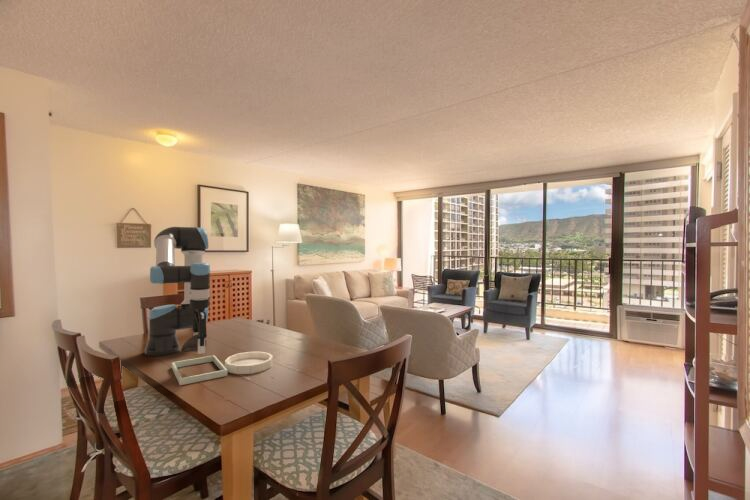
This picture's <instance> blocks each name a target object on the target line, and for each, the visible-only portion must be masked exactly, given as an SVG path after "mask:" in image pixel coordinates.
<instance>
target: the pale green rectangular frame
mask: <svg viewBox="0 0 750 500" xmlns="http://www.w3.org/2000/svg"><path fill="white" fill-rule="evenodd" d="M210 362H213V363H214V365H215V366H216V367H217V368H218V369H219V370H215V371H211V372H205V373H202V374H196V375H195V374H194V375H191V376H189V375H188V376H184V377H182V375H181V373H180V371H179V369H178V368H183V367H187V366H188V367H189V366H193V365H199V364H205V363H210ZM171 369H172V372H173V373H174V376H175V378H176V380H177V382H178V384H179V386H183V385H189V384H194V383H198V382H199V383H200V382H203V381H208V380H213V379H217V378H223V377H228V373H229V372H228V370H227V369H226V367H225V364H223V362H221V361H220V360H219V358H217V356H216V355H214V354H213V355H208V356H203V357H202V356H201V357H196V358H190V359H184V360H183V359H182V360H179V361H173V362H171Z"/></svg>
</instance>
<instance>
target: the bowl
mask: <svg viewBox="0 0 750 500" xmlns="http://www.w3.org/2000/svg"><path fill="white" fill-rule="evenodd" d="M273 363H274V355H272V354H271V353H269V352H266V351H265V352H264V351H246V352H245V351H244V352H240V353H239V352H238V353H235V354H233V355H230V356H228V357H227V358H226V359H225V360H224V366H225V367H226V369H227V370H228V373H229V374H230V373H231V374H236V375H252V374H256V373H260V372H264V371H266V370H269V369H270V368H272V366H273Z"/></svg>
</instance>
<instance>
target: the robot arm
mask: <svg viewBox="0 0 750 500" xmlns="http://www.w3.org/2000/svg"><path fill="white" fill-rule="evenodd" d="M208 238H209V237H208V232H207V230H206V229H205V228H203V227H195V226H194V227H193V226H190V227H187V226H170V227H167V228H164V229H162V230H161V231H160V232H158V234H157V235H156V236H155V238H154V240H153V241H154V242H153V244H154V245H153V246H154V248H155V249H156V251H155V252H156V254H155V265H154V266H151V267H150V269H149V270H150V271H149V280H150V281H149V282H150V283H151V284H160V285H163V284H177V283H179V284H182V283H184V289H183V290H184V291H183V292H184V293H183V295H184V296H183V301H182V302H181V303H180V306H179V307H178V306H177V305H176V304H173V303H172V304H165V305H160V306H156V307H154V308H152V309H150V310H149V317H148V320H149V321H148V322H149V324H148V328H149V329H148V333H149V334H148V340H147V343H146V345H145V348H144V355H146V356H149V357H150V356H151V357H160V356H161V357H162V356H166V355H171V354H174V353H177V352H179V351H180V343H179V340H178V337H177V331H179V330H187V329H190V330H191V329H192V331H193V334H192V336H194V335H196V334H198V335H199V337H197V339H198V352H197V355H200V354H205V353H206V347H205V338H206V339H207V337H208V336H207V322H208V318H209V308H210V297H211V296H210V293H211V291H210V289H211V287H210V284H211V283H210V281H211V280H210V278H211V277H210V276H211V268H210V267H211V266H210V264H209V263H208V262H203V255H205V253H206V250H208V249H209V239H208ZM175 249H180V252H181V253H182V254H183V256H184V265H176V262H175Z"/></svg>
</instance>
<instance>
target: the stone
mask: <svg viewBox="0 0 750 500" xmlns="http://www.w3.org/2000/svg"><path fill="white" fill-rule="evenodd" d="M193 335H194V334H193ZM193 335H192V336H191V337H190V338H188V339H187V340H186V341H185V342H184V344H183V345H182V347H181V348H180V349H181V350H180V351H181V353H188V352H192V353H193V352H195V353H196V352H197V353H198V339H197V337H199V335H198V334H196V335H194V336H193ZM206 347H207V337H206V338H205V348H206Z"/></svg>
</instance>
